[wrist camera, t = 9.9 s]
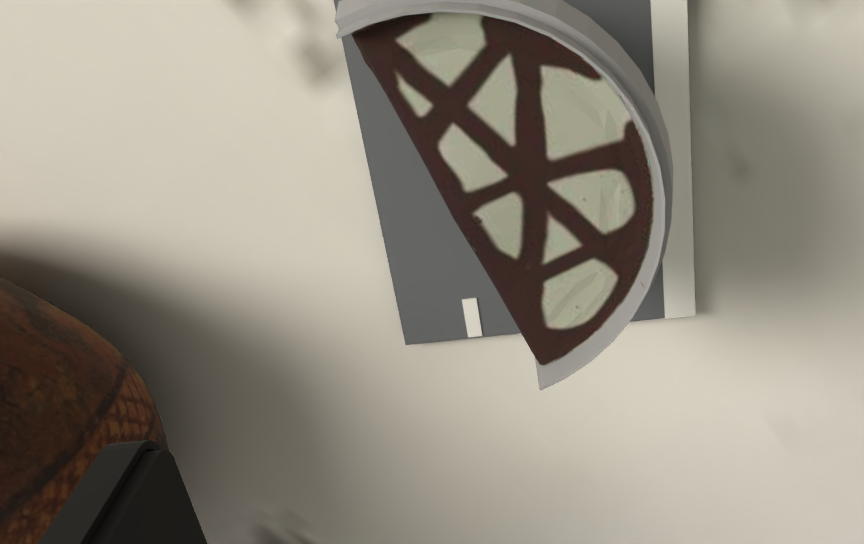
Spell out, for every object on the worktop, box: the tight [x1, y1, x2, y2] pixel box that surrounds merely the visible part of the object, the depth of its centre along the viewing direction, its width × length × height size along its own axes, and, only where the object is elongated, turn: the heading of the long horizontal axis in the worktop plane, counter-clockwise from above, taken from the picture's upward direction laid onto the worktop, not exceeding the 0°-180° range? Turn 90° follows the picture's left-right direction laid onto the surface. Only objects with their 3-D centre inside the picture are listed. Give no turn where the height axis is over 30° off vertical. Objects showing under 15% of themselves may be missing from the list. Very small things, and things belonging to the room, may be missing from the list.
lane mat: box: [334, 0, 696, 345], centre depth 30 cm, size 12×18×1 cm, turn 9°
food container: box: [335, 0, 673, 390], centre depth 25 cm, size 12×6×10 cm, turn 29°
